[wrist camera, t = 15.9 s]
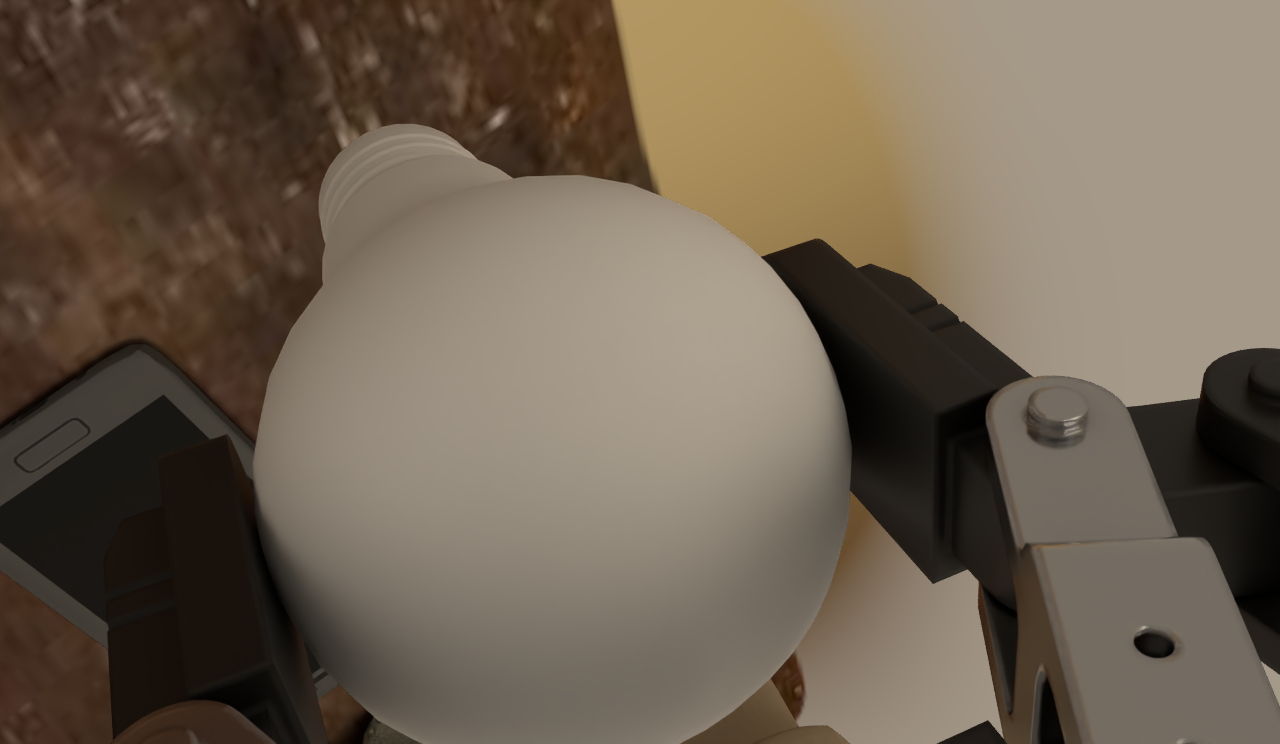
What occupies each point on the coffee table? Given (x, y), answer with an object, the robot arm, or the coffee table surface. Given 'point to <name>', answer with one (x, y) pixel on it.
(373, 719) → the decorative stone
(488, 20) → the coffee table surface
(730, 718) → the handle
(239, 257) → the coffee table surface
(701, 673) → the lightbulb
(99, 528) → the cell phone
